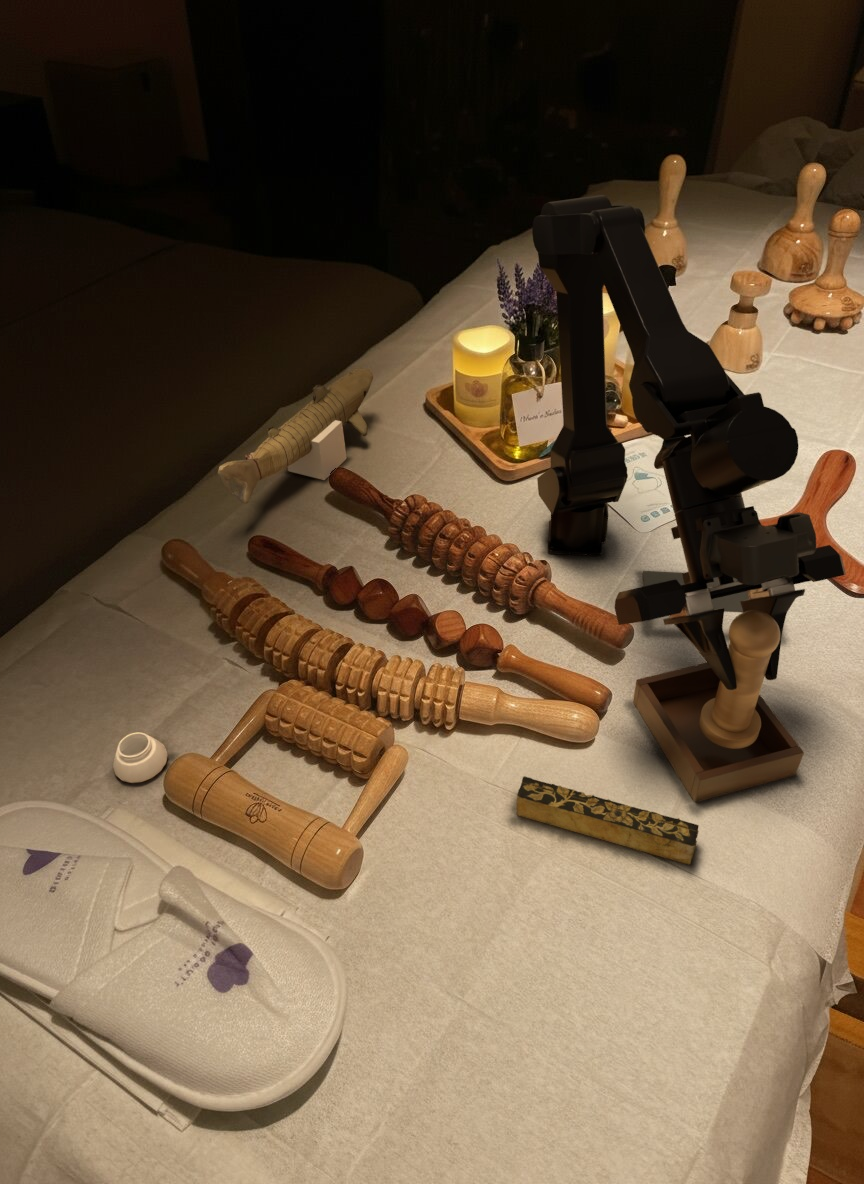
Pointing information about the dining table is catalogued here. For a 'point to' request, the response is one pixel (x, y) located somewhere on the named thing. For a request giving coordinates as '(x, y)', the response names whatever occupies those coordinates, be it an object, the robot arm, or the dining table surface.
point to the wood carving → (305, 437)
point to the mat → (726, 602)
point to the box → (696, 759)
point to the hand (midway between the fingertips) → (751, 684)
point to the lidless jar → (139, 758)
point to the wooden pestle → (742, 682)
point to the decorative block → (607, 820)
